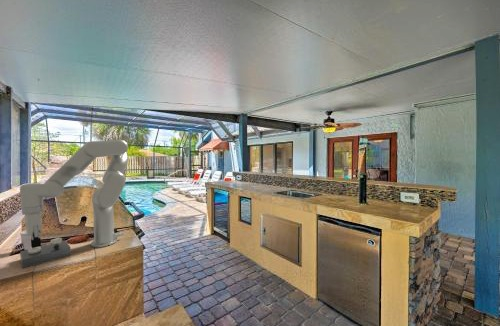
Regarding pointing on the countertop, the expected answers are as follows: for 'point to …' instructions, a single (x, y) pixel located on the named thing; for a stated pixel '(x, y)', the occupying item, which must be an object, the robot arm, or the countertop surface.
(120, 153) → the robot arm
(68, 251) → the housing
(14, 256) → the countertop surface
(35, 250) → the knob
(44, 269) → the countertop surface
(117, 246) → the countertop surface
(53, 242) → the knob
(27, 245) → the smoothie
